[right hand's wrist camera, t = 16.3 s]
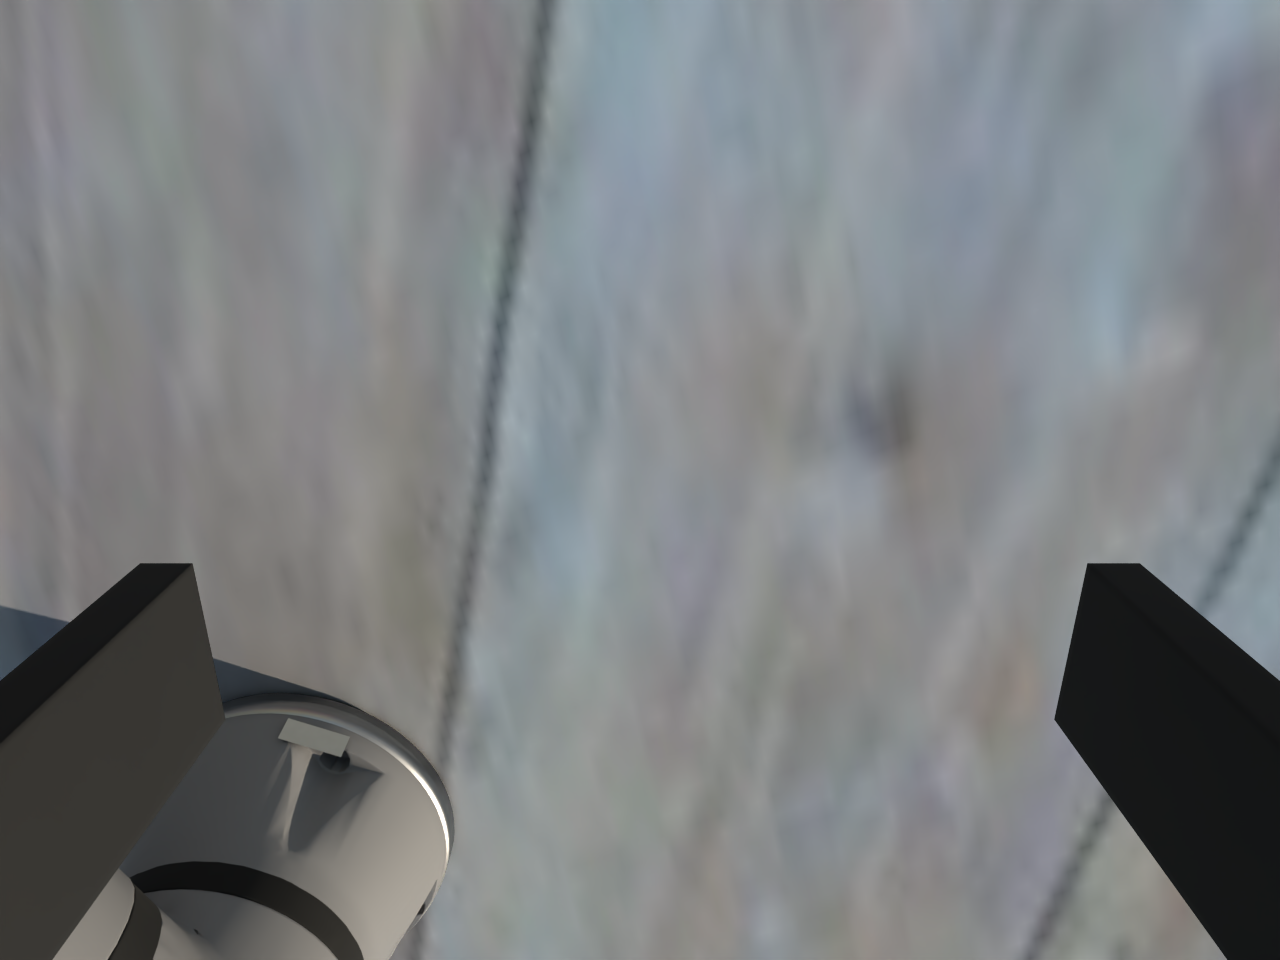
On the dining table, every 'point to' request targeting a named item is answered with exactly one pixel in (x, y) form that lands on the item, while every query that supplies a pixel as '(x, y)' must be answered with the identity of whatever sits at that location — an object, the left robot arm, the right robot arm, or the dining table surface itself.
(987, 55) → the dining table surface
